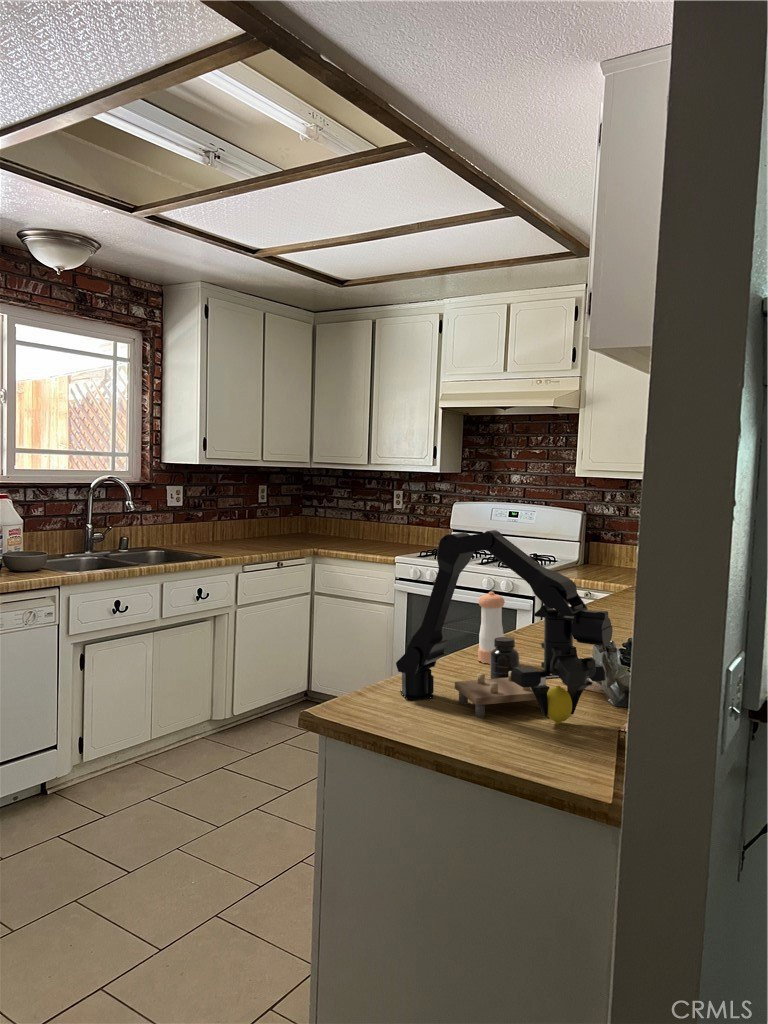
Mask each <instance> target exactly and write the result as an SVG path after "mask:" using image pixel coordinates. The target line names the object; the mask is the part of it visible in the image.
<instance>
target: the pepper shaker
mask: <svg viewBox="0 0 768 1024" xmlns="http://www.w3.org/2000/svg"><path fill="white" fill-rule="evenodd" d="M478 605H479V606H480V607H481V610H480V611H481V616H480V617H481V618H480V620H481V621H480V622H481V623H480V629H479V634H478V635H479V636H478V639H479V641H478V642H479V646H478V649H477V661H478V660H479V661H481V662H484V663H489V664H490V654H491V652H492V650H494V649H495V647H494V639H495V638H498V637H505V635H504V628H503V622H502V620H503V617H502V616H503V615H502V612H503V611H502V607H504V605H505V598H503V596H502V595H499V594H497V593H496V594H495V592H494V591H489V592H488V593H486V594H483V595H481V596H480V597H479V599H478Z"/></svg>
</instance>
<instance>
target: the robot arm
mask: <svg viewBox="0 0 768 1024" xmlns="http://www.w3.org/2000/svg"><path fill="white" fill-rule="evenodd" d="M483 550H484V551H487V552H488V553H490V555H492V556H493V557H494V558H496V560H499V562H501V563H502V564H503V565H505V566H506V567H507V568H508V569H510V570H511V571H512V572H513V573H515V574H516V575H517V576H518V577H520V578H521V579H523V580H524V581H525V582H526V583H527V584H528V586H530V588H531V590H532V592H533V593H534V595H535V596H536V597H537V598H538V600H540V602H541V603H542V604H543V605H541V607H540V608H539V609H538V610H537V611H536V612H534V614H533V615H534V617H538V618H543V619H544V622H543V625H544V627H543V629H544V630H543V631H544V632H543V633H544V636H543V639H544V640H543V641H544V642H541V644H540V645H541V648H542V649H543V650H544V651H543V652H544V653H543V654H544V655H543V656H544V657H543V659H544V660H543V661H541V665H540V666H541V668H542V669H541V670H539V669H538V670H537V669H535V668H533V667H531V666H529V665H526V666H519V667H514V668H513V670H512V672H511V681H513V682H515V683H516V684H518V685H519V686H521V687H531V689H532V691H533V693H534V695H535V697H536V699H537V700H536V701H537V704H538V706H539V708H540V709H541V711H540V712H541V714H542V716H543V717H544V718H547V717H548V716H547V714H548V703H547V692H548V690H549V688H550V686H548V685H547V684H546V683H547V682H546V680H556V679H560V680H561V682H562V683H563V685H565V686H566V688H567V689H566V691H568V693H569V694H570V697H571V700H572V712H571V714H570V716H573V715H574V714H575V711H576V709H577V706H578V703H579V701H580V698H581V696H582V695H583V692H584V690H585V689H586V688H588V687H589V686H592V685H593V684H594V683H593V682H605V681H606V678H607V672H606V669H605V667H604V666H603V665H601V664H599V663H597V662H596V660H595V658H594V657H592V656H591V657H584V658H581V657H580V658H579V657H578V652H577V647H576V646H574V640H576V642H577V643H578V644H587V645H593V646H600V647H608V646H609V645H610V643H611V642H612V641H611V640H612V638H613V630H614V629H613V628H614V627H613V625H612V622H611V619H610V617H609V611H607V610H592V609H591V610H589V609H588V607H587V605H586V604H585V602H584V600H583V599H582V598H581V596H580V595H579V593H578V590H577V585H576V583H575V582H574V581H573V580H572V579H571V578H570V577H567V576H565V575H563V574H561V573H560V572H558V571H555V570H552V569H549V568H546V566H545V567H544V566H543V565H541V564H540V563H539V562H537V561H536V560H535V559H534V558H532V557H531V556H530V555H528V553H526V552H524V551H523V550H521V548H519V547H518V546H517V545H515V544H514V543H512V541H510V540H508V539H507V538H506V537H505V536H503V534H502V533H501V532H500V531H498V530H497V529H496V530H495V529H491V530H485V531H482V532H481V533H475V534H469V533H468V532H458V533H457V532H456V533H451V534H446V535H444V536H442V537H441V538H440V539H439V541H438V548H437V553H436V559H437V566H438V570H437V573H436V577H435V580H434V582H433V587H432V590H431V593H430V596H429V599H428V603H427V606H426V609H425V612H424V615H423V617H422V618H423V619H422V622H421V625H420V626H419V628H418V629H417V630H416V631H415V632H414V634H413V635H412V636H411V638H410V640H409V642H408V644H407V646H406V649H405V653H404V654H403V655H402V656H401V657H400V658H399V659H398V660H397V661H396V663H395V665H396V668H397V671H398V673H401V690H402V691H401V690H400V691H399V693H400V692H401V693H402V694H403V695H404V696H405V697H406V699H416V700H420V699H419V698H428V699H434V698H435V695H434V691H435V690H434V685H435V683H434V682H435V681H434V675H432V669H433V668H435V667H436V663H437V661H438V660H439V659H440V658H441V657H442V656H444V655H445V648H446V646H447V644H448V639H447V638H444V637H443V627H444V624H445V621H446V618H447V615H448V611H449V608H450V605H451V601H452V599H453V596H454V592H455V589H456V585H457V583H458V580H459V577H460V575H461V573H462V572H463V571H464V569H465V568H466V567H467V566H468V564H469V563H470V561H471V559H472V558H473V555H474V554H475V552H477V551H483ZM431 668H432V669H431ZM590 680H591V681H590ZM550 689H551V688H550ZM401 693H400V694H401ZM402 694H401V695H402ZM403 695H402V696H403ZM430 697H431V698H430ZM433 697H434V698H433ZM406 699H405V700H406ZM540 709H539V710H540Z"/></svg>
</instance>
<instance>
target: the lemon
mask: <svg viewBox="0 0 768 1024" xmlns="http://www.w3.org/2000/svg"><path fill="white" fill-rule="evenodd" d="M547 703H548V714H547V717H548V718H549V719H550V720H551V721H553V722H555V724H557V725H560V724H562V723H563V722H565V721H567V720H568V719H569V718H570V716H571V712H572V700H571V697H570V694H569V693H568V691H567V689H565V688H564V687H561V686H560V685H556V686H555V687H552V688H550V690H549V691H548V693H547Z"/></svg>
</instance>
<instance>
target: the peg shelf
mask: <svg viewBox="0 0 768 1024" xmlns="http://www.w3.org/2000/svg"><path fill="white" fill-rule="evenodd" d="M511 672H512V671H509V677H508V678H496V679H491V678H488V679H487V678H485V677H486V674H485V673H477V679H473V680H463V681H454V689H455V690H456V691H458V703H459V704H460V703H461V704H460V705H468V704H469V701H470V702H472V703H473V704H474V705H475V706H474V708H475V709H474V711H475V712H474V715H475V718H478V719H483V718H485V717H486V710H485V709H486V705H491V704H493V705H494V704H505V703H515V702H516V703H517V702H526V701H527V702H528V701H537V699H536V697H535V695H534V693H533V691H532V689H531V687H521V686H519V685H518V684H516V683H515V682H513V681H511ZM550 689H551V688H549V690H550ZM549 690H548V691H549ZM547 693H548V692H547ZM539 711H540V712H542V711H541V709H539Z"/></svg>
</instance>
